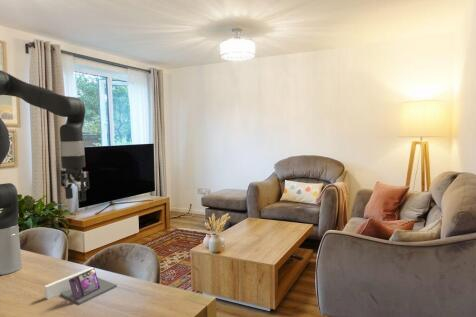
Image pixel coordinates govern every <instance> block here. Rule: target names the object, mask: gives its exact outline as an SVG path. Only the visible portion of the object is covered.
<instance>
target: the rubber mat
mask: <svg viewBox="0 0 476 317" xmlns="http://www.w3.org/2000/svg"><path fill="white" fill-rule="evenodd" d="M97 279H98V282H99V286H100V288H99V289H98V290H96V291H94V292H92V293H90V294H88V295H86V296H84V297H82V298H81V299H79V300H77V301H75V300H74V297H73V293H72V290H71V289H69V290H67V291H64V292H62V293H60V294H59V295H60V296H62V297H63V298H66V299H67V300H70V301H72V302H74V303H76V304H77V305H81V304H83V303H86V302H88V301H89V300H90V301H91V300H93V299H94V298H96V297H98V296H101V295H102V294H105V293H107V292H109V291H111V290H113V289H115V288H117V285H118V284H115V283H112V282H110V281H107V280H105V279H102V278H99V277H97ZM90 281H91V280H90ZM95 287H96V285H95V281H94V279H93V281H91V285H90V286H89V288H87V289H86V290H84V291H83V292H84V295H85V294H87V293H89V292H91V291H93V290H95ZM97 288H98V286H97Z"/></svg>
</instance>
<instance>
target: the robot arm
mask: <svg viewBox="0 0 476 317" xmlns="http://www.w3.org/2000/svg"><path fill="white" fill-rule="evenodd" d="M0 96H7V97H8V96H9V97H15V98H19V99H22V100H23V101H24V102H25V103H27V104H29V105H31V106H34V107H36V108H39V109H42V110H46V111H47V112H49V113H51V114H54V115H55V116H59V117H64V118H66V121H65V124H61V125H60V128H59V139H60V140H59V141H60V145H59V147H60V148H59V150H60V164H61V170H60V172H59V173H60V186H61V187H63V189H64V191H65V199H66V200H70V199H73V197H74V196H73V185H74V186H75V187H76V188H77V189H78V201H79V202H85V201H87V192H86V191H87V189H90V186H91V185H90V178H89V171H86V170H85V171H83V168H86V156H85V153H86V152H85V145H84V138H83V137H84V136H83V126H84V123H85V117H86V106H85V104H84V102H83V100H82V99H81V98H78V97H75V96H74V97H73V96H68V95H67V96H66V95H63V94H58V93H57V92H55V91H54V90H51V89H48V88H45V87H41V86H38V85H35V84H32V83H29V82H26V81H23V80H21V79H19V78H18V77H15V76H14V75H12V74H10V73H8V72H6V71H3V70H0ZM9 133H10V132H9V129H8V126H7V125H6V123H5V122H4V120H3V119H2V118H1V117H0V166H1V165H2V163H3V162H4V160H5V159H6V158H7V156H8V154H9V151H10V148H11V147H10V144H11V143H10V134H9ZM0 210H2V211H1V212H0V276H3V275H4V276H5V275H9V274H11V273H12V274H13V273H15V272H17V271H20V269H22V266H23V265H22V253H21V252H22V251H21V241H20V240H21V239H20V230H19V194H18V190H17V187H16V185H15V184H13V183H10V182H6V183H0Z"/></svg>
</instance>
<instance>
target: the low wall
mask: <svg viewBox="0 0 476 317" xmlns="http://www.w3.org/2000/svg"><path fill="white" fill-rule="evenodd" d="M91 269H95V268H94V267H92V266H91V267H89V268H86V269H84V270H81V271H79V272H75V273H74V274H71V275H69V276H66V277H64V278H61V279H57V280H56V281H54V282H50V283H48V284H46V285H44V295H45V299H47V300H50V299H52V298H55V297H57V296H59V295H60V293H62V292H64V291H67V290H69V289H71V287H70V283H69V279H72V278H74V277H76V276H78V275H80V274H82V273H85V272H87V271H89V270H91ZM82 276H83V275H81V276H79V278H80V282H81V281H82V280H83V279H84V278H83V277H82ZM85 278H90V279H89V280H93V279H94V278H93V276H92V274H91V271H90V276H86V277H85Z"/></svg>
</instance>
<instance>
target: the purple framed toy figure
mask: <svg viewBox="0 0 476 317" xmlns="http://www.w3.org/2000/svg"><path fill="white" fill-rule="evenodd" d="M90 271H91V274H92V276H93V278H94V281H95V285H96V287H95V290H93V291H91V292H89V293H87V294H85V295H84V292H83V291H84V290H86V289H87V288H89V286H90V285H91V281H93V280H91V281H90V280H89V279H90V278H85V277H86V276H90ZM81 275H83V276H82V277H83V278H84V279H83V280H82V281H81V282H80V278H79V276H81ZM97 278H98V275H97V272H96V270H95V268H94V269H91V270H89V271H87V272H85V273H82V274H80V275H78V276H76V277H74V278H72V279H69V283H70V287H71V290H72V293H73V297H74V300H75V301H77V300H79V299H81V298H82V297H84V296H86V295H88V294H90V293H92V292H94V291H96V290H98V289H99V288H100V286H99V282H98V279H97ZM97 286H98V288H97Z"/></svg>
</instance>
